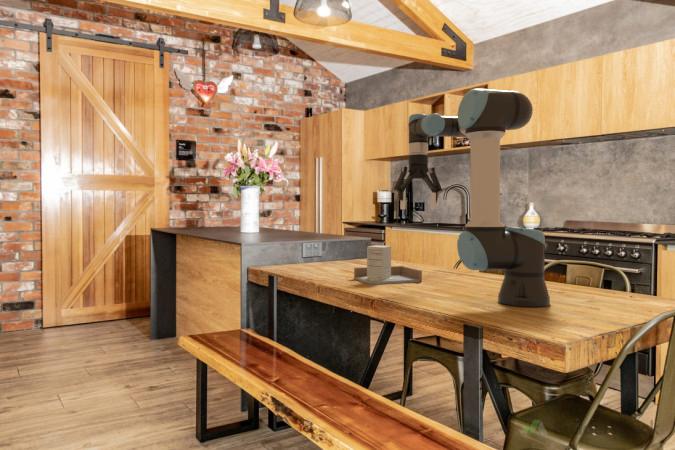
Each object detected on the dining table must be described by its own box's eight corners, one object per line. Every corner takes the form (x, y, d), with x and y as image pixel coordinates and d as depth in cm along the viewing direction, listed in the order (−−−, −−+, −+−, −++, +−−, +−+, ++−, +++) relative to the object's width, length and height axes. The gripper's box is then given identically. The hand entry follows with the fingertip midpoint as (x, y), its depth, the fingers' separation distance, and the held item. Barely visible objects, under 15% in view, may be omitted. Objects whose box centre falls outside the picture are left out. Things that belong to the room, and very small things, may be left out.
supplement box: (374, 276, 215) (375, 244, 214) (391, 277, 211) (391, 245, 210) (366, 278, 208) (366, 246, 208) (383, 279, 205) (383, 247, 204)
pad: (395, 279, 207) (395, 279, 207) (371, 280, 203) (371, 280, 203) (384, 276, 216) (384, 275, 216) (361, 277, 213) (361, 276, 213)
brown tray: (421, 281, 208) (421, 270, 208) (370, 284, 200) (370, 272, 200) (402, 276, 223) (402, 265, 222) (354, 279, 215) (354, 267, 215)
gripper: (440, 156, 215) (439, 209, 216) (385, 154, 206) (385, 209, 206) (450, 155, 208) (450, 209, 209) (394, 152, 199) (394, 209, 199)
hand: (418, 209), depth 208 cm, fingers open, 13 cm apart
